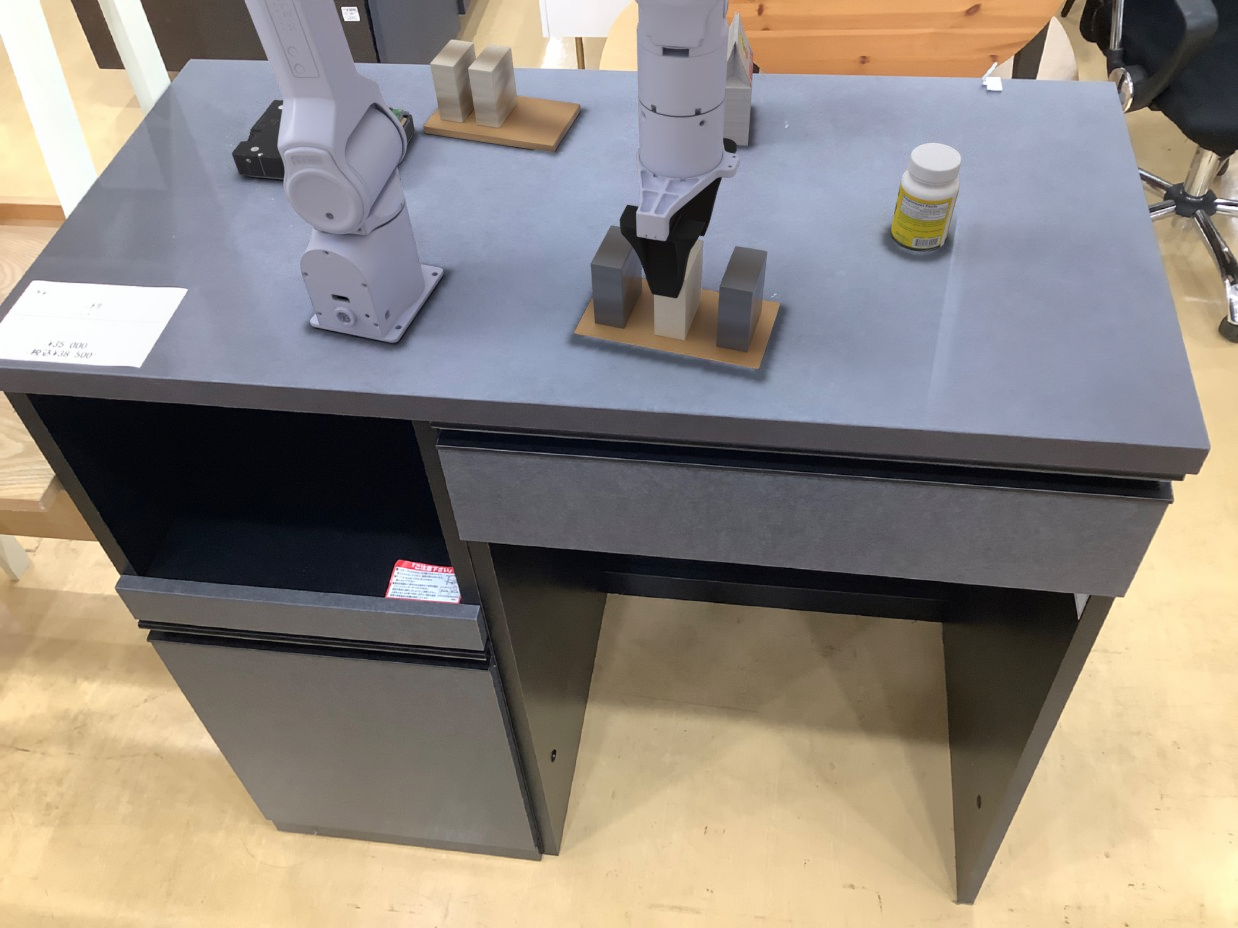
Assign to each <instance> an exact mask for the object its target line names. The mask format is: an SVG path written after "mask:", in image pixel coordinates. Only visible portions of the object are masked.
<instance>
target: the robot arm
mask: <svg viewBox="0 0 1238 928" xmlns="http://www.w3.org/2000/svg"><path fill="white" fill-rule="evenodd" d="M634 1H635V3H636V4H637V7H638V8H637V9H638V10H637V13H638V14H637V16H638V22H637V25H636V62H637V65H636V67H637V68H636V69H637V111H638V113H637V115H638V149H637V152H636V171H637V183H638V192H639V205H633V204H626V206H625V207H624V209H623V211H622V212H621V215H620V217H619V227H620V230H621V234H622V235H623V236H624V237H625V238H626V239H627V241H628V242H629V243H630V244H631V246H632V247H633V249H634V250H635V252H636V253H637V255H638V257H639V259H640V262H641V265H642V271H643V273H644V276H645V279H646V280H647V283H648V285H649V288H650V291H651V293H652V294H653V295H659V296H665V297H670V298H678V296H679V294H680V291H681V289H682V286H683V283H684V279H685V274H686V268H687V263H688V258H689V254H690V251H691V249H692V247H693V246H694V244H695V243H696V241H697V240H699V239H700V237H705V236H706V233H707V231H708V228H709V226H710V223H711V219H712V216H713V212H714V208H715V203H716V199H717V195H718V192H719V188H720V185H721V182H722V180H723V178H725V179H731V178H733V177H735V176H736V174H737V172H738V169H739V167H740V155H738V154H737V150H738V145H737V144H736V143H735V142H734V141H733V140H731V139H728V138H723V130H724V110H725V94H726V73H727V52H728V32H729V27H730V26H729V21H728V18H727V15H728V11H729V3H730V2H729V1H730V0H634ZM244 3H245V6H246V8H247V10H248V13H249V15H250V18H251V20H252V24H253V25H254V28H255V31H256V33H257V35H258V38H259V40H260V43H261V46H262V48H263V51H264V53H265V55H266V58H267V61H268V63H269V65H270V69H271V71H272V73H273V76H274V78H275V81H276V83H277V86H278V88H279V91H280V93H281V96H282V100H283V109H282V116H281V122H280V129H279V136H278V150H279V152H280V155H281V157H282V160H283V163H284V168H285V175H284V179H283V192H284V195H285V197H286V200H287V202H288V203H289V205H290V206H291V208H292V209H293V210H294V212H295V213H296V214H297V215H298V216H299V217H300V218H301V219H302V220H304V222H306V223H307V224H309V225H310V226H312V230H311V236H310V239H309V241H308V244H307V246H306V248H305V250H304V251H303V253H302V256H301V258H300V261H299V268H300V275H301V276H302V279H303V282H304V285H305V287H306V290H307V293H308V297H309V299H310V303H311V306H312V308H313V310H314V311H313V312H314V314H313V315H312V316H311V318H310V319H309V323H310V326H311V327H314V328H319V329H323V330H328V331H333V332H337V333H342V334H346V335H353V336H357V337H362V338H366V339H371V340H377V341H380V342H386V343H392V344H393V343H395V344H396V343H398V342H399V341H400V339H401V338H402V337H403V335H404V334H405V332H406V331H407V329H408V327H409V326H410V325H411V323H412V322H413V320H414V319H415V317H416V316H417V315H418V313H419V312H420V310H421V309H422V307H423V306H424V304H425V303H426V302H427V300H428V298H429V297H430V295H431V293H433V291H434V289H435V288H436V286H437V285H438V283H439V282H440V281H441V279H442V277H443V276H444V269H443V268H442V267H440V266H434V265H430V264H429V265H428V264H424V263H421V261H420V256H419V252H418V247H417V243H416V238H415V234H414V230H413V226H412V222H411V218H410V213H409V209H408V205H407V200H406V196H405V192H404V188H403V186H402V183H401V180H402V179H401V175H400V170H399V168H398V165H400V163H401V162H402V161H403V159H404V157H405V156H406V153H407V148H408V144H407V139H406V134H405V131H404V129H403V126H402V124H401V123H400V121H399V120H398V118H397V117H396V116H395V115H394V114H393V112H392V111H391V110H390V109H389V108H388V107H389V106H388V104H387V103H386V101H385V99H384V97H383V94H382V91H381V88H380V85H379V83H378V82H377V81H376V80H374V79H372V78H370V77H368V76H365V75H363V74H361V73H359V72H358V70H357V68H356V64H355V62H354V58H353V56H352V53H351V50H350V46H349V44H348V39H347V37H346V34H345V32H344V29H343V25H342V23H341V18H340V16H339V13H338V10H337V7H336V4H335V1H334V0H244Z"/></svg>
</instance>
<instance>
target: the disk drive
mask: <svg viewBox="0 0 1238 928" xmlns="http://www.w3.org/2000/svg"><path fill="white" fill-rule="evenodd" d="M388 108H389V109H390V110H391V111H392V112H393V114H394V115H395V116H396V117H397V118H398V120H399V121H400V123H401V124H402V126H403V129H404V131H405V134H406V139H407V145H409V142H410V141H411V139H412V137H413V136H414V135H413V134H414V133H415V130H416V128H415V124H414V118H413V115H412V114H410V112H409V110H407V111H406V110H404V109H401V108H400V109H399V108H393V107H391V106H388ZM282 109H283V99H273V101H271V103H270V104H269V106H268V107H267V108H266V109H265V111H264V112H263V114H261V115H260V117H259V118H258V119H257V120H256V122H254V124H253V125H252V127H251V128H250V129H249V135H248V138H247V140H241V141H240V142H239V143H238V145H236V147H235V148H234V149H233V151H232V152H231V156H232V158H233V162H234V164H235V166H236V169H237V172H238V174H239V175H241V176H242V175H245V176H247V177H253V178H263V179H265V178H266V179H276V180H277V179H278V180H284V175H285V168H284V163H283V160H282V157H281V155H280V152H279V150H278V136H279V129H280V122H281V116H282Z"/></svg>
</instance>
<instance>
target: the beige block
mask: <svg viewBox="0 0 1238 928" xmlns="http://www.w3.org/2000/svg"><path fill="white" fill-rule="evenodd" d="M703 259H704V240H702V239H698V240H697V241H696V243H695V244H694V246H693V247H692V249H691V251H690V254H689V258H688V263H687V268H686V274H685V279H684V283H683V286H682V289H681V291H680V294H679V296H678V298H670V297H665V296H659V295H654V334H655V335H658V336H664V337H669V338H674V339H679V340H685V339H686V336H687V334H688V331H689V329H690V327H691V324H692V322H693V319H694V317H695V314H696V312H697V309H698V307H699V304H700V302H701V289H703V288H702V286H703V284H702V283H703V262H704V261H703Z"/></svg>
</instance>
